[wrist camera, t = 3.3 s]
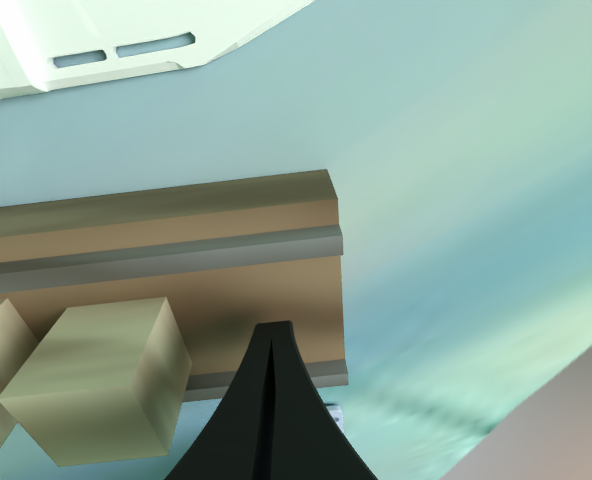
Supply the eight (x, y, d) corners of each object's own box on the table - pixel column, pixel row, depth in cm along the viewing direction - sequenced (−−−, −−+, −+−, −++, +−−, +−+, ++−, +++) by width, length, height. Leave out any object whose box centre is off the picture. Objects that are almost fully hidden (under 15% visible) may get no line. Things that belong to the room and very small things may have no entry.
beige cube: (192, 363, 16) (168, 455, 12) (106, 372, 16) (58, 466, 12) (166, 296, 14) (128, 384, 10) (67, 307, 14) (-4, 398, 10)
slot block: (337, 337, 19) (348, 398, 16) (-41, 378, 20) (-104, 445, 17) (327, 169, 14) (341, 208, 11) (-184, 228, 15) (-316, 283, 11)
